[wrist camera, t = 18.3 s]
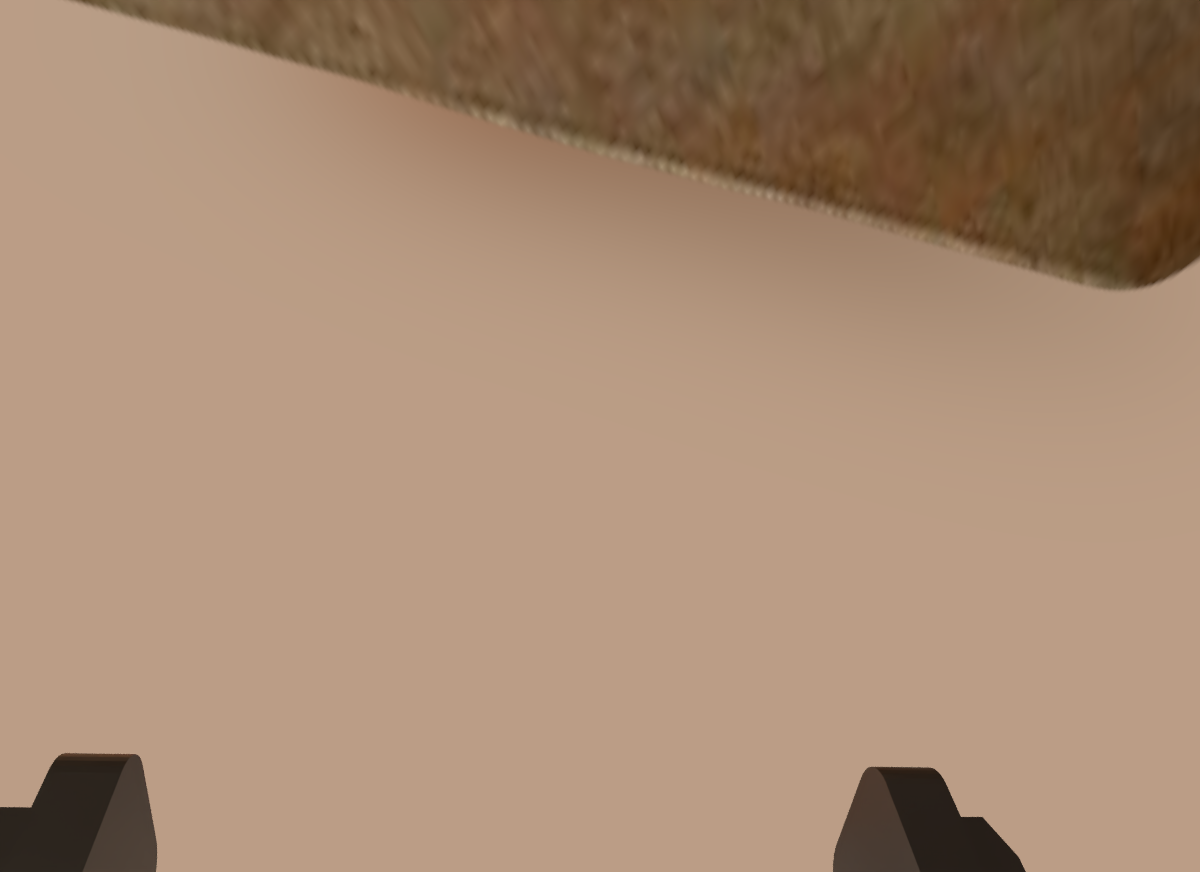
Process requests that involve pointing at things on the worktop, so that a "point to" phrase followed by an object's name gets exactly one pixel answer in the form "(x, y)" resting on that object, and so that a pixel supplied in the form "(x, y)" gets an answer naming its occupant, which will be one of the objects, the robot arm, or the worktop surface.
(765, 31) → the worktop surface
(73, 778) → the robot arm
